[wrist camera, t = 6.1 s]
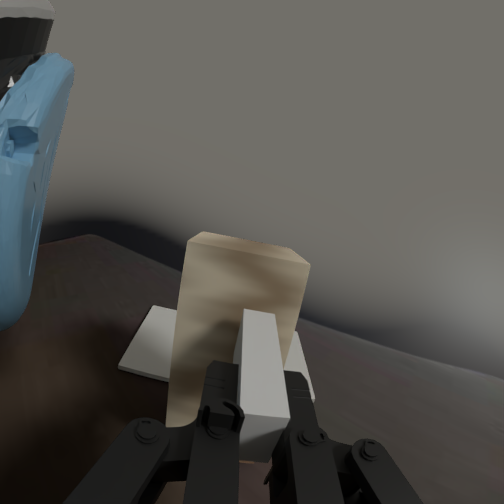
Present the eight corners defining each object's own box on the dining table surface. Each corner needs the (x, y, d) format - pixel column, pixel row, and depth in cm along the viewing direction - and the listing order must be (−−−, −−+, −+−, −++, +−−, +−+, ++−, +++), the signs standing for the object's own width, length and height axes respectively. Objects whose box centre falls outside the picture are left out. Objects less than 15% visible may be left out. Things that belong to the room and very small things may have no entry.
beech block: (164, 449, 16) (187, 240, 14) (178, 400, 22) (202, 231, 20) (253, 463, 16) (311, 265, 14) (249, 412, 22) (290, 248, 20)
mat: (118, 368, 23) (118, 364, 23) (152, 308, 35) (153, 305, 34) (313, 402, 24) (315, 398, 24) (296, 335, 36) (297, 331, 36)
